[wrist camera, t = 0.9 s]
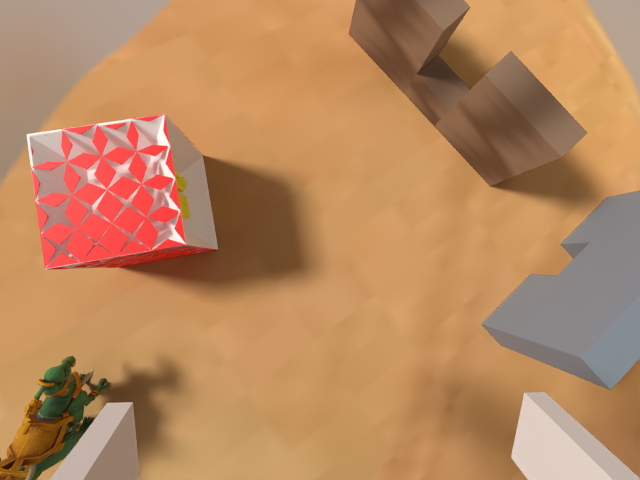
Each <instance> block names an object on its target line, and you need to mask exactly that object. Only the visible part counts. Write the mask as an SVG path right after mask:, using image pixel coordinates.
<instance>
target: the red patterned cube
mask: <svg viewBox="0 0 640 480" xmlns="http://www.w3.org/2000/svg"><path fill="white" fill-rule="evenodd" d="M27 141H28V148H29V156H30V163H31V170H32V178H33V185H34V192H35V199H36V207H37V214H38V221H39V229H40V236H41V243H42V250H43V258H44V265H45V269H46V270H48V269H73V268H116V267H122V266H128V265H134V264H139V263H145V262H151V261H157V260H162V259H168V258H174V257H179V256H185V255H190V254H195V253H196V254H198V253H203V252H209V251H215V250H219V249H218V245H217V238H216V232H215V226H214V220H213V214H212V208H211V202H210V196H209V190H208V184H207V178H206V172H205V165H204V159H203V155H202V154H201V153H200V152H199V150H198V149H197V148H196V147H195V146H194V145H193V144H192V143H191V142H190V140H189V139H188V138H187V137H186V136H185V135H184V134H183V133H182V132H181V131H180V129H179V128H178V127H177V126H176V125H175V124H174V123H173V122H172V121H171V120H170V119H169V117H168V116H167V115H166V114H160V115H153V116H147V117H140V118H133V119H127V120H120V121H114V122H107V123H100V124H93V125H86V126H80V127H73V128H66V129H59V130H52V131H45V132H38V133H31V134H27Z"/></svg>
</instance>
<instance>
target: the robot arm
mask: <svg viewBox="0 0 640 480" xmlns="http://www.w3.org/2000/svg"><path fill="white" fill-rule="evenodd" d="M511 458H512V459H513V461H514V462H515V463H516V465H517V466H518V467H519V469H520V470H521V471H522V473H523V474H524V475H525V477H526V478H527V479H528V480H640V478H639V477H638V476H637V475H636V474H635V473H634V472H632V471H631V470H630V469H629V468H628V467H627V466H626V465H625V464H624V463H623V462H621V461H620V460H619V459H618V458H617V457H616V456H615V455H614V454H613V453H611V452H610V451H609V450H608V449H607V448H606V447H605V446H604V445H603V444H602V443H600V442H599V441H598V440H597V439H596V438H595V437H594V436H593V435H592V434H590V433H589V432H588V431H587V430H586V429H585V428H584V427H583V426H582V425H581V424H579V423H578V422H577V421H576V420H575V419H574V418H573V417H572V416H571V415H570V414H568V413H567V412H566V411H565V410H564V409H563V408H562V407H561V406H560V405H558V404H557V403H556V402H555V401H554V400H553V399H552V398H551V397H550V396H549V395H547V394H546V393H545V392H524V397H523V402H522V407H521V411H520V416H519V421H518V426H517V431H516V436H515V440H514V445H513V450H512V455H511ZM139 475H140V471H139V460H138V450H137V439H136V429H135V419H134V408H133V402H121V403H107V404H106V405H105V406H104V408H103V409H102V410H101V412H100V413H99V414H98V416H97V417H96V418H95V420H94V421H93V422H92V424H91V425H90V426H89V428H88V429H87V431H86V432H85V433H84V435H83V436H82V437H81V439H80V440H79V441H78V443H77V444H76V445H75V447H74V448H73V449H72V451H71V452H70V453H69V455H68V456H67V457H66V459H65V460H64V461H63V463H62V464H61V465H60V467H59V468H58V469H57V471H56V472H55V473H54V475H53V476H52V477H51V479H50V480H137V479H138V477H139Z"/></svg>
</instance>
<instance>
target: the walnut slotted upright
mask: <svg viewBox="0 0 640 480" xmlns="http://www.w3.org/2000/svg"><path fill="white" fill-rule="evenodd" d="M469 8H470V6H469V5H468V4H467V3H466V2H465V1H464V0H356V3H355V7H354V12H353V16H352V21H351V26H350V30H349V35H350V36H351V37H352V38H353V39H354V40H355V41H356V42H357V43H358V44H359V45H360V46H361V48H362V49H363V50H364V51H365V52H366V53H367V54H368V55H369V56H370V57H371V58H372V59H373V60H374V62H375V63H376V64H377V65H378V66H379V67H380V68H381V69H382V70H383V71H384V72H385V73H386V74H387V76H388V77H389V78H390V79H391V80H392V81H393V82H394V83H395V84H396V85H397V86H398V87H399V88H400V90H401V91H402V92H403V93H404V94H405V95H406V96H407V97H408V98H409V99H410V100H411V101H412V102H413V104H414V105H415V106H416V107H417V108H418V109H419V110H420V111H421V112H422V113H423V114H424V115H425V116H426V118H427V119H428V120H429V121H430V122H431V123H432V124H433V125H434V126H435V127H436V128H437V129H438V131H439V132H440V133H441V134H442V135H443V136H444V137H445V138H446V139H447V140H448V141H449V142H450V143H451V145H452V146H453V147H454V148H455V149H456V150H457V151H458V152H459V153H460V154H461V155H462V156H463V157H464V159H465V160H466V161H467V162H468V163H469V164H470V165H471V166H472V167H473V168H474V169H475V170H476V171H477V173H478V174H479V175H480V176H481V177H482V178H483V179H484V180H485V181H486V182H487V183H488V184H489V185H490V186H492V185H495V184H497V183H500V182H502V181H505V180H507V179H510V178H512V177H515V176H517V175H520V174H522V173H525V172H527V171H530V170H532V169H535V168H537V167H540V166H542V165H545V164H547V163H550V162H552V161H555V160H557V159H560V158H562V157H563V156H564V155H565V154H566V153H567V152H568V151H569V150H571V149H572V148H573V147H574V146H575V145H576V144H577V143H578V142H579V141H580V140H581V139H582V138H583V137H584V136H585V135H586V134H587V132H586V131H585V130H584V129H583V127H582V126H581V125H580V124H579V123H578V122H577V121H576V120H575V119H574V118H573V117H572V116H571V115H570V113H569V112H568V111H567V110H566V109H565V108H564V107H563V106H562V105H561V104H560V103H559V102H558V101H557V100H556V98H555V97H554V96H553V95H552V94H551V93H550V92H549V91H548V90H547V89H546V88H545V87H544V86H543V85H542V83H541V82H540V81H539V80H538V79H537V78H536V77H535V76H534V75H533V74H532V73H531V72H530V71H529V70H528V68H527V67H526V66H525V65H524V64H523V63H522V62H521V61H520V60H519V59H518V58H517V57H516V56H515V54H514V53H513V52H512V51H510V52H509V53H508V54H507V55H506V56H505V57H504V58H503V59H502V60H501V61H499V62H498V63H497V64H496V65H495V66H494V67H493V68H492V69H491V70H490V71H488V72H487V73H486V74H485V75H484V76H483V77H482V78H481V79H480V80H479V81H478V82H477V83H476V84H475V85H474V86H473V87H472V88H471V89H469V88H468V87H467V86H466V85H465V84H464V83H463V81H462V80H461V79H460V78H459V77H458V76H457V75H456V74H455V73H454V72H453V71H452V70H451V69H450V67H449V66H448V65H447V64H446V63H445V62H444V61H443V60H442V59H441V58H440V57H439V56H438V55H439V53H440V52H441V50H442V49H443V47H444V46H445V44H446V43H447V41H448V40H449V38H450V37H451V35H452V34H453V32H454V31H455V29H456V28H457V26H458V25H459V23H460V22H461V20H462V19H463V17H464V16H465V14H466V13H467V11H468V10H469Z"/></svg>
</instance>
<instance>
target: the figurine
mask: <svg viewBox="0 0 640 480" xmlns="http://www.w3.org/2000/svg"><path fill="white" fill-rule="evenodd" d="M75 361H76V360H75V358H74V357H73V356H70V357H67V358H66V359H63V360H62V362H61V365H60V366H57V367H53V368H50V369H48V370H47V371H46V372H45V375H44V380H43V379H40V380H38V381H37V383H38V384H39V385H41V386H42V387H41V388H40V390H39V391H38V393H37V394H36V395H35V397H34V398H32V399H31V402H30V403H29V404H28V405H27V406H26V407H25V410H24V413H26V415H25V418H24V419H23V420H22V422H23V424H22V425H21V427H20V429H19V430H18V432H17V434H16V436H15V439H14V441H13V443H12V444H11V445H10V446H9V447H8V450H7V453H6V454H7V458H6V459H4V460H2V461H1V458H0V480H36V479H37V478H38V477H39V476H40V474H41V473H42V472H43V471H44V470H46V469H48V468H50V467H51V466H53V465H55V464H56V463H58V462H60V461H61V460H63V459H64V458H65V457H66V456H67V455H68V454H69V453H70V451H71V450H72V449H73V448H74V446H75V445H76V444H77V443H78V441H79V440H80V438H81V437H82V435H83V434H84V433H85V432H86V431H87V429H88V428H89V426H90V425H91V424H92V423H91V424H90V422H91V421H92V418H90V419H88V422H87V417H85V418H84V419H83V413H84V405H85V406H87V405H88V404H89V403H90V402H91V401H93V400H94V399H95V397H97V396H98V394H99V391H100V390H102V389H103V388H104V387H105V386H106V385H107V384H108V382H107V383H105V384H104V385H102V383H103V378H102V379H100V381H99V384H98V386H97V389H95V390H92V392H91V393H89V395H88V394H87V393H86V391H83V390H82V389H81V388H82V386H83V385H84V384H85V383H86V382H87V381H88V380H89V378H90V377H91V376H92V374H93V368H92V370H91V371H90V372H89V373H88V374H86V375H85V376H84V377H83V378H82V374H80V375H78V373H77V372H71V366H72V367H74V366H75V364H76V363H75ZM42 393H43V394H44V395H46V396H47V397H46V399H45V401H44V402H43V403H42V401H41V400H39V398H40V396H41V395H42ZM82 419H83V424H82V426H81V428H80V430H79V431H76V430H77V428H78V426H79V423H80V421H81V420H82ZM93 421H94V420H93ZM93 421H92V422H93ZM10 468H11V469H10ZM9 469H10V470H9Z"/></svg>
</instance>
